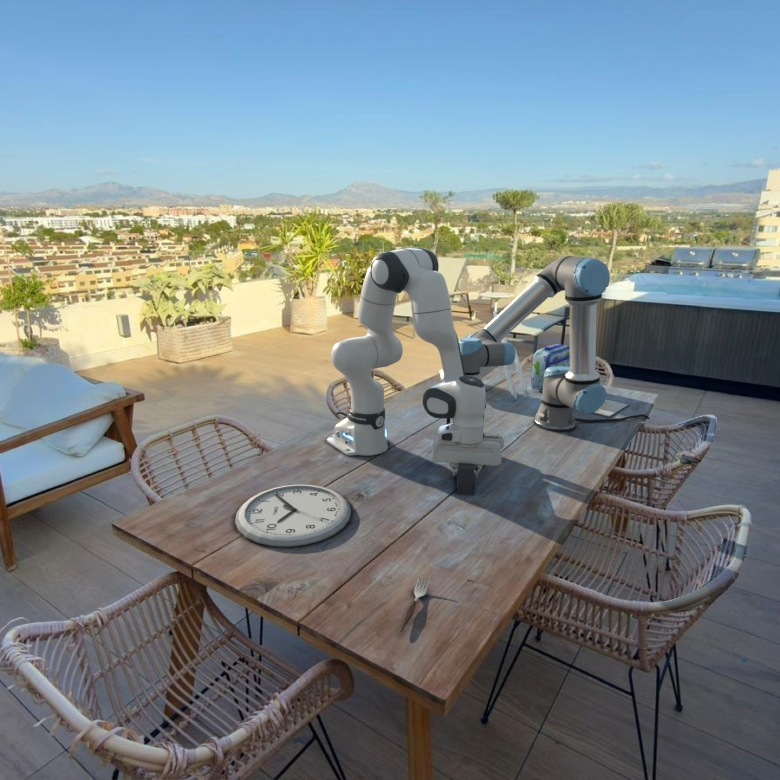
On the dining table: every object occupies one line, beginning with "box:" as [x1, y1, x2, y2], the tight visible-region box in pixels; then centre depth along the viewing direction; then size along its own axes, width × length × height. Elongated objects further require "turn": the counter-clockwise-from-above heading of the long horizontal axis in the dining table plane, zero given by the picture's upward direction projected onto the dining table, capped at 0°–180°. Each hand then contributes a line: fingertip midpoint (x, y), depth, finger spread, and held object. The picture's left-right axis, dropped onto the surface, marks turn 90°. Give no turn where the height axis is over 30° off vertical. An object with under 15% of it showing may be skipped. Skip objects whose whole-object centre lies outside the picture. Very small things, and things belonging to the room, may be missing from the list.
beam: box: [456, 463, 475, 495], centre depth 166 cm, size 36×4×8 cm, turn 173°
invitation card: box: [593, 399, 629, 418], centre depth 226 cm, size 21×1×15 cm
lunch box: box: [530, 343, 570, 392], centre depth 248 cm, size 26×11×21 cm, turn 134°
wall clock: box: [234, 484, 352, 548], centre depth 138 cm, size 30×2×30 cm
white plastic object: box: [438, 310, 531, 400], centre depth 245 cm, size 37×45×31 cm
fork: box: [400, 573, 431, 633], centre depth 105 cm, size 3×16×2 cm, turn 160°
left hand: (464, 476), depth 154 cm, fingers closed on beam, 4 cm apart
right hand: (463, 449), depth 180 cm, fingers open, 5 cm apart
